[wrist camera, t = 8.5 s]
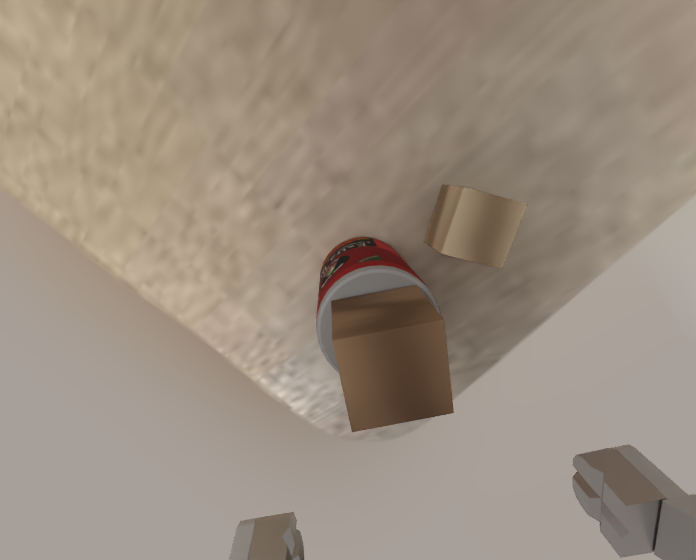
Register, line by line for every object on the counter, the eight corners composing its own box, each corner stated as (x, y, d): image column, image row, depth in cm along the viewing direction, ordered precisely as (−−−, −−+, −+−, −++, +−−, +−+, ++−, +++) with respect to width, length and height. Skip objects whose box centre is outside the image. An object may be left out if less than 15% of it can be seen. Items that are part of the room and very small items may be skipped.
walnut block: (346, 374, 21) (352, 431, 17) (331, 300, 20) (332, 340, 15) (425, 359, 21) (453, 412, 17) (416, 284, 20) (444, 319, 15)
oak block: (423, 241, 31) (441, 253, 26) (441, 184, 29) (464, 186, 24) (475, 254, 31) (502, 269, 26) (495, 199, 30) (527, 204, 25)
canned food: (360, 217, 30) (378, 240, 19) (423, 277, 31) (471, 328, 21) (301, 280, 31) (287, 334, 20) (365, 334, 33) (382, 409, 22)
